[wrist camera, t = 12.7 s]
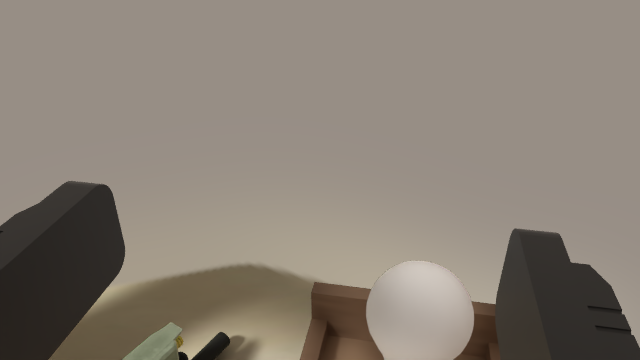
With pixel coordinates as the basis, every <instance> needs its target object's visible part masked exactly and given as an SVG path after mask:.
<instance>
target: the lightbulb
mask: <svg viewBox="0 0 640 360" xmlns="http://www.w3.org/2000/svg"><path fill="white" fill-rule="evenodd" d="M366 319H367V324H368V328H369V332H370V334H371V336H372V338H373V340H374V342H375V343H376V345H377V347H378V349H379V350H380V352H381V353H382V355H383V357H384V360H453V359H455V358H456V357H457V356H458V355H459V354H461V352H462V351H463V350H464V348H465V347H466V345H467V343H468V342H469V340H470V337H471V334H472V331H473V327H474V310H473V306H472V302H471V298H470V295H469V294H468V292H467V290H466V288H465V287H464V285H463V284H462V282H461V281H460V280H459V279H458V278H457V277H456V276H455V275H454V274H453V273H452V272H451V271H449V270H448V269H446V268H444V267H442V266H440V265H438V264H435V263H432V262H427V261H417V260H416V261H406V262H402V263H400V264H397V265H396V266H393V267H392V268H390V269H388V270H387V271H386V272H385V273H384V274H382V275H381V276H380V277H379V278H378V279H377V281H376V282H375V284H374V286H373V287H372V289H371V291H370V294H369V297H368V300H367V305H366Z"/></svg>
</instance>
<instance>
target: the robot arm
mask: <svg viewBox="0 0 640 360" xmlns="http://www.w3.org/2000/svg"><path fill="white" fill-rule="evenodd" d="M124 257H125V245H124V240H123V237H122V232H121V227H120V223H119V219H118V214H117V210H116V206H115V201H114V197H113V194H112V191H111V190H110V188H109V187H108V186H106V185H104V184H94V183H85V182H75V181H68V182H66V183H64V184H63V185H61V186H60V187H59V188H58V189H56V190H55V191H54V192H53V193H51V194H50V195H49V196H47V197H46V198H45V199H44V200H42V201H41V202H40V203H38V204H36V205H34V206H32V207H30V208H28V209H26V210H24V211H21V212H19V213H17V214H15V215H14V216H13V217H11V218H10V219H9V220H8V221H7V222H5V223H4V224H2V225H1V226H0V360H48V359H49V358H50V357H51V355H52V354H53V353H54V352H55V351H56V349H57V348H58V347H59V346H60V345H61V343H62V342H63V341H64V340H65V338H66V337H67V336H68V335H69V334H70V332H71V331H72V330H73V329H74V327H75V326H76V325H77V324H78V323H79V321H80V320H81V319H82V318H83V316H84V315H85V314H86V313H87V312H88V310H89V309H90V308H91V307H92V305H93V304H94V303H95V302H96V301H97V299H98V298H99V297H100V296H101V294H102V293H103V292H104V291H105V290H106V288H107V287H108V286H109V285H110V283H111V282H112V281H113V280H114V279H115V277H116V276H117V275H118V273H119V272H120V270H121V268H122V265H123V262H124ZM495 323H496V332H497V338H498V345H499V352H500V358H501V360H640V348H639V346H638V344H637V341H636V339H635V337H634V335H631V328H630V326H629V324H628V322H627V320H626V317H625V315H623V314H622V309H621V306H620V304H619V302H618V300H617V298H616V296H615V294H614V291H613V289H612V287H611V286H610V285H609V284H608V283H607V282H606V281H605V280H604V279H603V278H602V277H601V276H600V275H599V274H598V273H597V272H596V271H595V270H594V269H593V268H592V267H591V266H590V265H587V264H578V263H571V262H570V259H569V256H568V254H567V251H566V248H565V246H564V243H563V240H562V238H561V236H560V234H558V233H553V232H544V231H533V230H524V229H514V230H513V231H512V234H511V236H510V240H509V244H508V248H507V253H506V257H505V262H504V266H503V270H502V274H501V279H500V283H499V287H498V292H497V298H496V307H495Z"/></svg>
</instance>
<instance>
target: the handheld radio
mask: <svg viewBox="0 0 640 360" xmlns="http://www.w3.org/2000/svg"><path fill="white" fill-rule="evenodd" d="M182 330H183V329H182V328H180V327H179V326H177V325H175V324H174V323H172V322H170V323H169V324H168V325H166V326H165V327H163V328H162V329H160V330H158V331H157V332H155V333H153V334H152V335H150V336H149V337H148V338H147V339H146V340H145V341H143V342H142V343H141V344H140V345H139V346H137V347H136V348H135V349H134V350H133V351H131V352H130V353H129V354H128V355H127V356H126V357H124V358H123V359H122V360H188V357H187V355H186V354H185V353H183V352H178V348H179V347H180V346H181V345H182V344H183V339H182V338H181V336H179V335H180V333H181V331H182ZM229 344H230V339H229V337H228V336H227V335H226V334H225V333H223V332H219V333H218V334H217V335H216V336H215V337H214V338H213V339H212V340H211V341H210V342H209V343H208V344H207V345H206V346H205V347H204V348H203V349H202V350H201V351H200V352H199V353H198V354H197V355H196V356H195V357H193V358H192V359H191V360H214V359H215V358H216V357H217V356H218V355H219V354H220V353H221V352H222V351H223V350H224V349H225V348H226V347H227V346H228V345H229Z"/></svg>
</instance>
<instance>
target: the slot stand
mask: <svg viewBox="0 0 640 360" xmlns="http://www.w3.org/2000/svg"><path fill="white" fill-rule="evenodd" d="M370 291H371V289H366V288H358V287H350V286H342V285H334V284H325V283H317V282H315V283H314V286H313V289H312V292H311V299H312V320H311V323H310V327H309V330H308V333H307V337H306V340H305V344H304V347H303V351H302V354H301V357H300V360H384V357H383V355H382V353H381V352H380V350H379V349H378V347H377V345H376V343H375V342H374V340H373V338H372V336H371V334H370V332H369V328H368V324H367V319H366V305H367V300H368V297H369V294H370ZM471 302H472V301H471ZM472 306H473V310H474V327H473V331H472V334H471V337H470V340H469V342H468V343H467V345H466V347H465V348H464V350H463V351H462V352H461V354H459V355H458V356H457V357H456V358H455V359H453V360H501V358H500V352H499V345H498V338H497V332H496V323H495V307H496V304H488V303H480V302H472Z"/></svg>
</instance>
